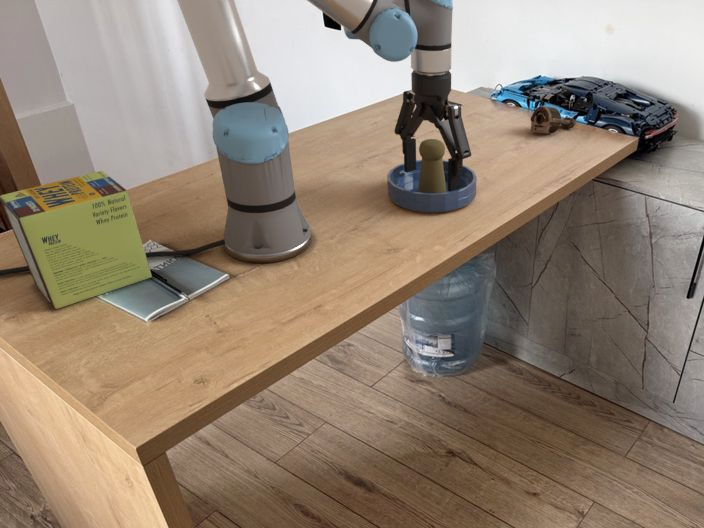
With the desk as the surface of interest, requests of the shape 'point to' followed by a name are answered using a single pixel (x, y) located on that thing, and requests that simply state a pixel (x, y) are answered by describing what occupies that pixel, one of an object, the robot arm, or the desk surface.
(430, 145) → the olive peg doll
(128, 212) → the protein box
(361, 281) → the desk surface
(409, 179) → the bowl
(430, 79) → the robot arm
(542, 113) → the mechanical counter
